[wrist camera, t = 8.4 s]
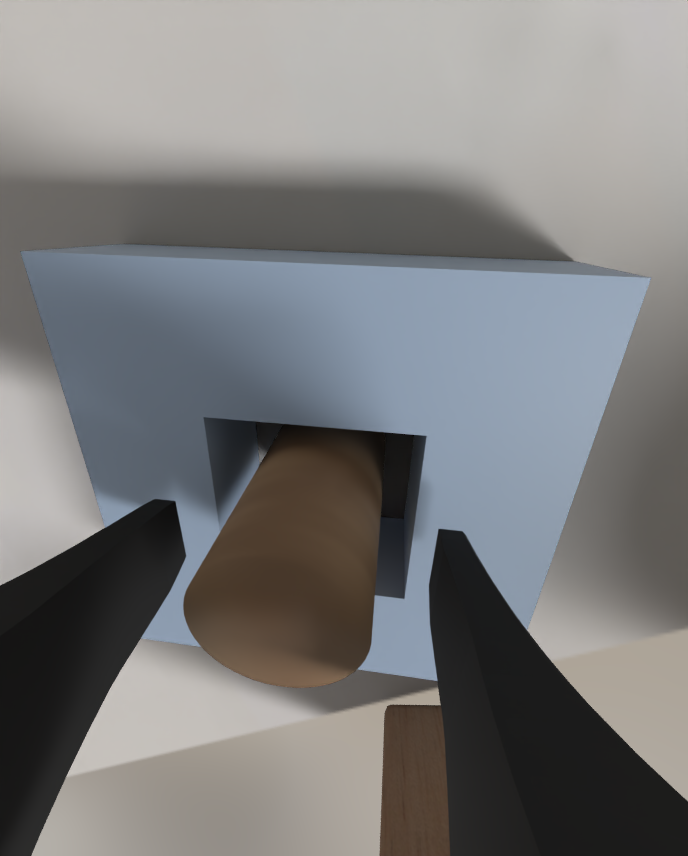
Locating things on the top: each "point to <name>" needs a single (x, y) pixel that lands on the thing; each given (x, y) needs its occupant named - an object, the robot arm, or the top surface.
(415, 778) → the wooden block
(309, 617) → the peg
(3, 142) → the top surface
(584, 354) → the socket
